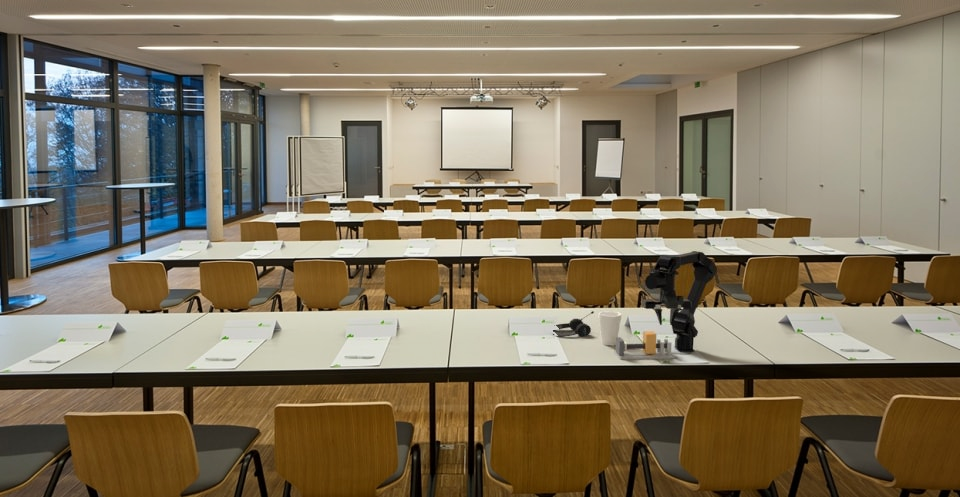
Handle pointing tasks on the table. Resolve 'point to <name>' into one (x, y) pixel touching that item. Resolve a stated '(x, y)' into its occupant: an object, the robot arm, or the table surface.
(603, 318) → the foam cup
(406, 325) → the table surface
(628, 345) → the dark grey rod
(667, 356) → the comb base
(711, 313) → the table surface
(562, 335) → the headset
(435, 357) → the table surface
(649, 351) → the sleeve
